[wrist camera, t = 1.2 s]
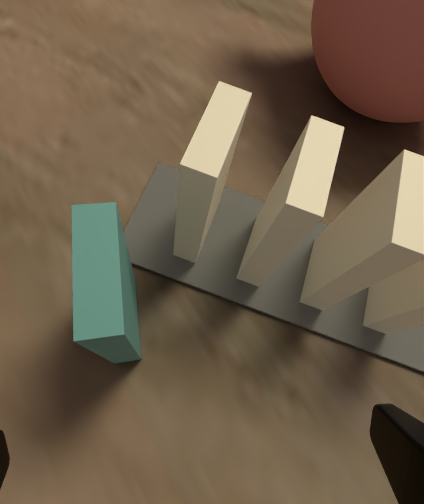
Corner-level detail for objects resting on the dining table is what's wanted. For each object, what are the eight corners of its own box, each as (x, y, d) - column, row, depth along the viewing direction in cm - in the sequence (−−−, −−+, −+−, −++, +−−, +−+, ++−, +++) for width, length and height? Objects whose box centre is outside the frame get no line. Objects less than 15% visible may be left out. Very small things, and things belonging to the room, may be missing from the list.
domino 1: (219, 203, 25) (252, 93, 16) (195, 263, 23) (217, 177, 14) (198, 195, 25) (219, 81, 16) (173, 254, 23) (179, 163, 14)
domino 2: (277, 224, 25) (344, 127, 16) (258, 286, 23) (323, 217, 14) (256, 216, 25) (311, 115, 16) (236, 278, 23) (285, 203, 14)
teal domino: (135, 279, 22) (115, 202, 13) (141, 359, 20) (124, 334, 11) (109, 282, 22) (71, 205, 13) (114, 363, 20) (73, 341, 11)
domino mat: (497, 400, 22) (501, 400, 22) (112, 256, 23) (111, 254, 22) (496, 289, 26) (500, 288, 25) (158, 164, 26) (158, 162, 25)
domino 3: (335, 246, 25) (437, 161, 16) (321, 310, 23) (429, 256, 14) (314, 238, 25) (404, 149, 16) (299, 301, 23) (391, 242, 14)
